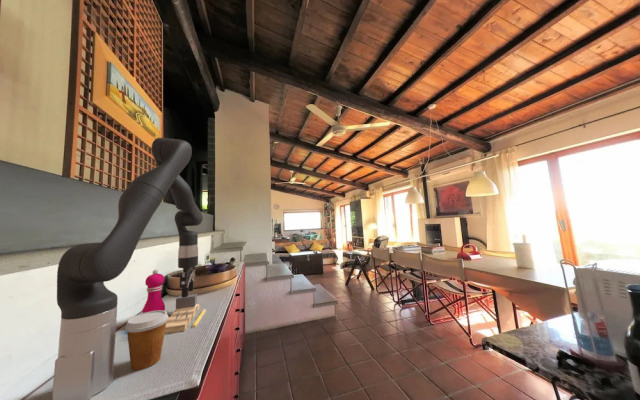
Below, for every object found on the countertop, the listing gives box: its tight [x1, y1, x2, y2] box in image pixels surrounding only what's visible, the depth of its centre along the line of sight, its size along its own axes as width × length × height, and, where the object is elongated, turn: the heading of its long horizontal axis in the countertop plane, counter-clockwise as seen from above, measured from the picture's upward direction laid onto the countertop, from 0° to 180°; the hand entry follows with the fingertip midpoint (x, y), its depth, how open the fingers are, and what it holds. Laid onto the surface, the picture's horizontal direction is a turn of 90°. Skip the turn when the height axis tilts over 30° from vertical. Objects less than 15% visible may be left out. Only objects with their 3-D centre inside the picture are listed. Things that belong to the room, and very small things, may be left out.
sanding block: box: [175, 293, 198, 311], centre depth 93 cm, size 4×7×5 cm, turn 107°
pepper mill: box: [141, 269, 166, 314], centre depth 86 cm, size 7×7×20 cm
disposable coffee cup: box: [124, 310, 170, 371], centre depth 60 cm, size 10×10×12 cm
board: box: [164, 303, 200, 335], centre depth 86 cm, size 22×8×2 cm, turn 17°
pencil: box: [192, 308, 207, 328], centre depth 87 cm, size 16×1×1 cm, turn 15°
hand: (187, 293), depth 94 cm, fingers open, 8 cm apart
